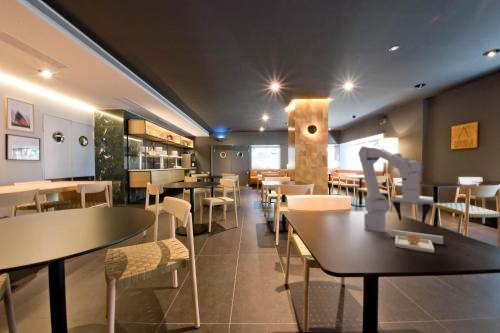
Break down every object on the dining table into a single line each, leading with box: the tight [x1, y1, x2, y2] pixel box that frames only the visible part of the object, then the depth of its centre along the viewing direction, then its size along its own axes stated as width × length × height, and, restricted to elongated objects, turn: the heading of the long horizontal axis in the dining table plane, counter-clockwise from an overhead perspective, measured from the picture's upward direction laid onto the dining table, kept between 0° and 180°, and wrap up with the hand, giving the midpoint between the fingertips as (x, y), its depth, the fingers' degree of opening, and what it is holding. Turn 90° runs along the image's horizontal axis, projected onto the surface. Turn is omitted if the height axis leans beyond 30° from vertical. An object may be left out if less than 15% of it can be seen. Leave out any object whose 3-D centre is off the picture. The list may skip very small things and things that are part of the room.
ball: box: [406, 232, 420, 244], centre depth 85 cm, size 4×4×4 cm
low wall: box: [390, 229, 444, 245], centre depth 91 cm, size 18×1×3 cm, turn 54°
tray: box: [394, 235, 435, 254], centre depth 85 cm, size 12×12×1 cm
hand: (411, 221), depth 87 cm, fingers open, 7 cm apart
